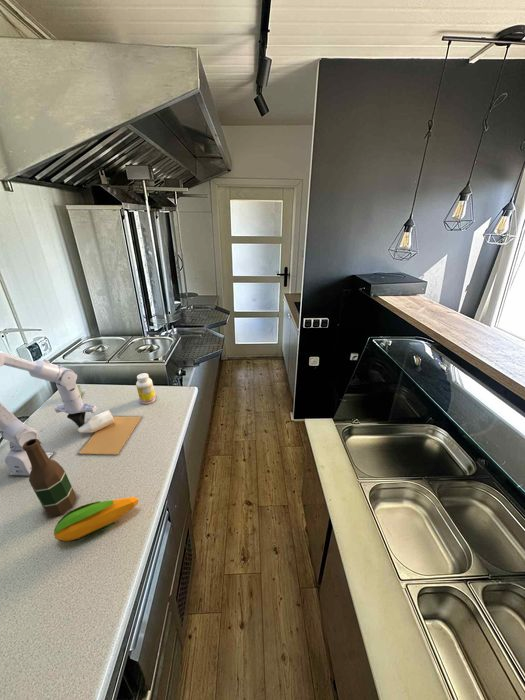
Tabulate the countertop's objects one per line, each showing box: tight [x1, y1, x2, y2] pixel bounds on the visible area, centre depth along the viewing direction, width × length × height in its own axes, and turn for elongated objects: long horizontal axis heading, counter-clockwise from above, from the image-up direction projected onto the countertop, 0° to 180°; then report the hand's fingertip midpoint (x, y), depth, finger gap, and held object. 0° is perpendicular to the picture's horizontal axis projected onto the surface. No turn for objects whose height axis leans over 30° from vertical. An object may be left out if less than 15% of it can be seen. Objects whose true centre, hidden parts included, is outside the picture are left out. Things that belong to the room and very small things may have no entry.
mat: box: [78, 416, 142, 456], centre depth 109 cm, size 20×14×1 cm
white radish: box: [77, 409, 114, 434], centre depth 110 cm, size 6×12×6 cm, turn 131°
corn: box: [53, 496, 139, 543], centre depth 76 cm, size 7×8×20 cm
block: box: [77, 384, 83, 397], centre depth 131 cm, size 4×4×4 cm
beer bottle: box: [23, 438, 77, 517], centre depth 78 cm, size 8×8×24 cm
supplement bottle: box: [135, 372, 157, 405], centre depth 126 cm, size 7×7×13 cm
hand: (82, 426), depth 111 cm, fingers closed
